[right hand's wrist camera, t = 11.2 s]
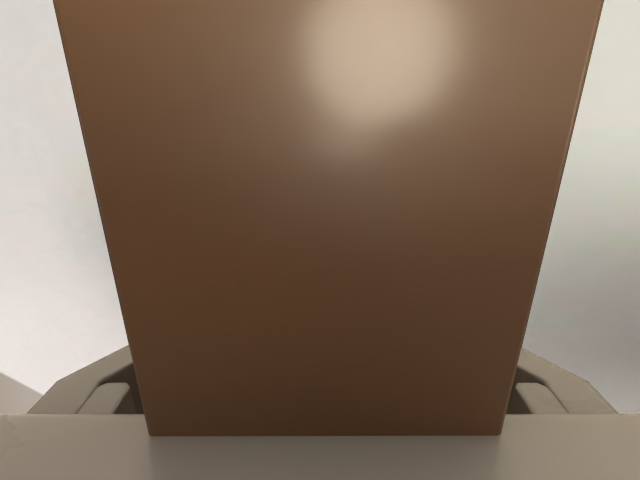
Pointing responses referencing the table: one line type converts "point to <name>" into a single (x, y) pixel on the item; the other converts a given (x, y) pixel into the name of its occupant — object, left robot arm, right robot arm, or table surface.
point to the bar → (326, 201)
